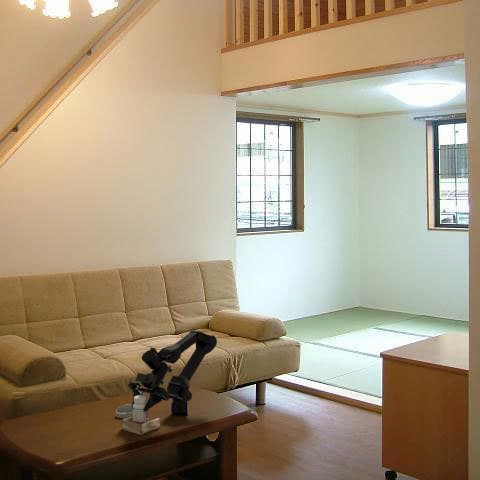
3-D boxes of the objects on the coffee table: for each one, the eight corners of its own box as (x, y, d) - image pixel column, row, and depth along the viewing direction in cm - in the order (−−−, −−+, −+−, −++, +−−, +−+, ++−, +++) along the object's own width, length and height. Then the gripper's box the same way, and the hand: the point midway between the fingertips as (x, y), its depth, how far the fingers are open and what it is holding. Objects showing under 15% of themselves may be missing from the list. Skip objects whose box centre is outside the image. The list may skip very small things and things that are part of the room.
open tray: (140, 422, 273) (140, 413, 273) (159, 427, 267) (159, 418, 266) (121, 429, 264) (121, 420, 264) (140, 434, 258) (140, 425, 258)
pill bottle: (144, 421, 270) (143, 393, 269) (151, 425, 265) (151, 397, 264) (130, 424, 266) (129, 396, 265) (137, 429, 261) (137, 400, 261)
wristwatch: (139, 415, 283) (139, 403, 282) (134, 419, 276) (134, 407, 276) (119, 413, 285) (119, 402, 284) (113, 418, 278) (113, 406, 278)
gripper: (130, 361, 273) (110, 394, 265) (164, 368, 262) (144, 403, 254) (144, 376, 280) (125, 409, 271) (178, 383, 269) (159, 418, 260)
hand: (138, 409), depth 264 cm, fingers closed on pill bottle, 6 cm apart
